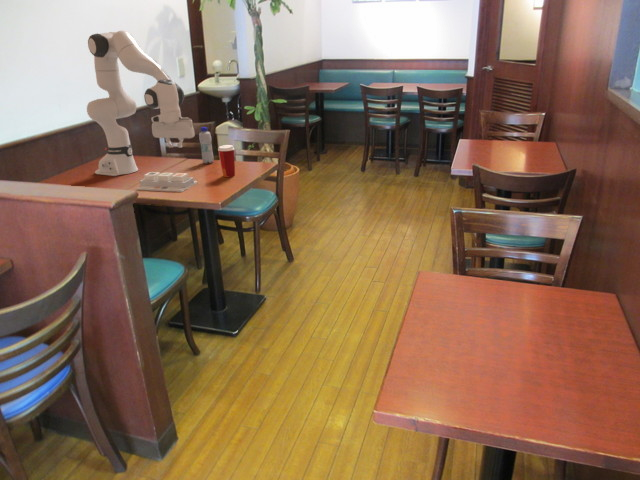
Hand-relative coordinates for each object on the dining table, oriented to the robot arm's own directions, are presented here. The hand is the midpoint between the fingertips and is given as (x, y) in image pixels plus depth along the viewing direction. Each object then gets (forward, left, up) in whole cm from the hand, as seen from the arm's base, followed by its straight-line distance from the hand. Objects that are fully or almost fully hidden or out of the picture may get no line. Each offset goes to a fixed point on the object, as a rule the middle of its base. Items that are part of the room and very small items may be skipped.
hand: (175, 147), depth 236 cm
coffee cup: (+15, +22, -19) cm, 33 cm away
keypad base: (-7, 0, -19) cm, 21 cm away
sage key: (-8, 0, -16) cm, 18 cm away
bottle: (-9, +46, -19) cm, 51 cm away
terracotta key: (0, 0, -16) cm, 16 cm away
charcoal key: (-15, 0, -16) cm, 22 cm away
